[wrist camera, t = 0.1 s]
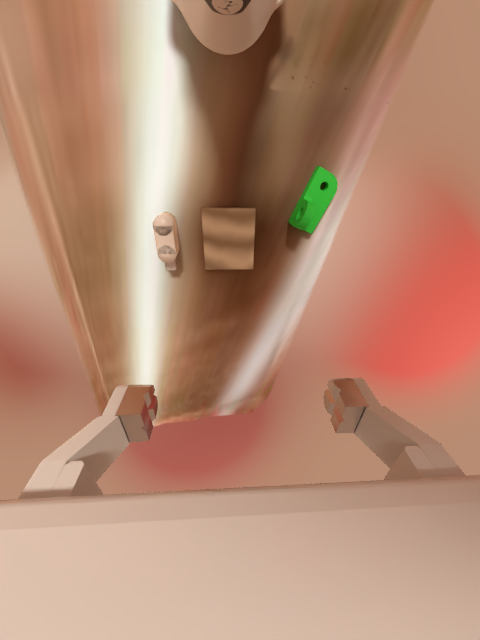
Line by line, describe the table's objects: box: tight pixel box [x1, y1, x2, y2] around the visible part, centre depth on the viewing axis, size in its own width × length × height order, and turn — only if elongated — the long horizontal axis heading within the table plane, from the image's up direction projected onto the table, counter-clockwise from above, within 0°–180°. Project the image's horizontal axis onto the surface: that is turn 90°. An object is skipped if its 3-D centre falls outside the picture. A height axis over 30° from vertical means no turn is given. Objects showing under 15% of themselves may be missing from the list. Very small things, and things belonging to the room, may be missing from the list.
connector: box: [153, 212, 179, 270], centre depth 56 cm, size 12×4×5 cm, turn 179°
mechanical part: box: [288, 166, 337, 234], centre depth 52 cm, size 12×6×8 cm, turn 156°
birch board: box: [201, 207, 256, 270], centre depth 58 cm, size 14×12×2 cm
